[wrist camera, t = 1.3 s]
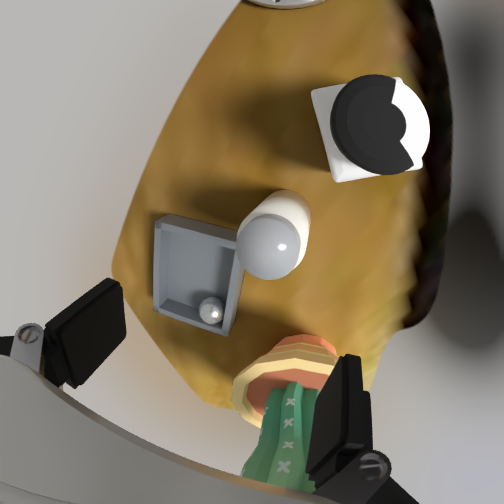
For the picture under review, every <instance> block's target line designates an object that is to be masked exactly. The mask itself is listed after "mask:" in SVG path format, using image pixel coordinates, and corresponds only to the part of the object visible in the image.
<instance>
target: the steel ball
mask: <svg viewBox="0 0 504 504" xmlns="http://www.w3.org/2000/svg"><path fill="white" fill-rule="evenodd" d="M198 311H199V316H200V318H201V319H202V320H203V321H204V322H206V323H208V324H217V323H219V322H221V321H222V320H223V318H224V314H225V305H224V303H223V302H222V301H221V300H220V299H218V298H215V297H208V298H206V299H204V300H203V301H202V302H201V303H200V305H199V310H198Z"/></svg>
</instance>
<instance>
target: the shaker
mask: <svg viewBox="0 0 504 504" xmlns="http://www.w3.org/2000/svg"><path fill="white" fill-rule="evenodd" d="M310 223H311V209H310V206H309V204H308V202H307V201H306V199H305V198H304V197H303V196H302V195H300V194H299V193H297V192H295V191H292V190H279V191H276V192H273V193H272V194H270V195H269V196H268V197H267V198H266V199H265V200H264V201H263V202H262V203H261V204H260V205H258V206H257V207H256V208H255V209H254V210H253V211H252V212H251V213H250V214H249V215H248V216H247V217H246V218H245V219H244V220H243V222H242V223H241V225H240V227H239V229H238V233H237V241H236V254H237V258H238V260H239V262H240V264H241V265H242V267H243V268H244V269H245V270H246V271H247V272H249V273H250V274H251V275H253V276H255V277H257V278H260V279H265V280H274V279H279V278H281V277H284V276H285V275H287V274H288V273H290V272H291V271H292V270H293V269H294V268H295V267H296V266H297V265H298V264H299V263H300V262H301V260H302V259H303V257H304V254H305V251H306V246H307V240H308V235H309V229H310Z"/></svg>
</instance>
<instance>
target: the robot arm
mask: <svg viewBox="0 0 504 504" xmlns="http://www.w3.org/2000/svg"><path fill="white" fill-rule="evenodd" d="M248 1H250V2H253V3H255V4H257V5H261V6H265V7H270V8H278V9H294V8H304V7H308V6H312V5H316V4H318V3H321V2H323V1H325V0H248ZM277 1H279V2H277ZM45 327H46V328H45V329H44V330H43V329H42V327H41V326H40V325H38V324H36V323H28V324H25V325H22V326H21V327H19V329H18V330H17V331H16V333H15V336H4V337H0V504H419V503H418V502H417V501H416V500H415V499H414V498H413V497H412V496H410V495H409V494H408V493H407V492H406V491H405V490H404V489H403V488H402V487H401V486H400V485H399V484H398V483H396V482H395V481H394V480H393V479H392V478H391V477H390V474H391V470H392V468H391V463H390V460H389V458H388V457H387V456H386V455H385V454H383V453H381V452H380V451H377V450H373V438H372V415H371V399H370V393H369V392H368V391H363V379H362V366H361V358H360V356H355V355H351V354H346V355H345V356H344V357H343V356H340V357H339V359H338V361H337V363H336V365H335V366H334V368H333V370H332V372H331V374H330V376H329V377H328V379H327V381H326V383H325V384H324V386H323V388H322V390H321V391H320V393H319V395H318V396H317V399H316V402H315V407H314V415H313V423H312V431H311V438H310V445H309V451H308V458H307V464H306V470H305V472H306V474H309V478H308V481H315V486H314V487H315V488H316V490H315V491H313V492H312V493H307V492H303V491H298V490H294V489H290V488H285V487H281V486H276V485H272V484H267V483H263V482H259V481H255V480H252V479H248V478H244V477H241V476H237V475H234V474H230V473H227V472H224V471H221V470H218V469H215V468H211V467H209V466H206V465H203V464H200V463H197V462H195V461H192V460H189V459H187V458H184V457H182V456H179V455H177V454H175V453H172V452H170V451H168V450H165V449H163V448H161V447H158V446H156V445H154V444H152V443H150V442H148V441H146V440H144V439H141V438H140V437H138V436H136V435H134V434H132V433H130V432H128V431H126V430H124V429H122V428H121V427H119V426H117V425H115V424H114V423H112V422H110V421H108V420H107V419H105V418H103V417H101V416H100V415H98V414H97V413H95V412H93V411H92V410H90V409H88V408H87V407H85V406H84V405H82V404H81V403H79V402H78V401H76V400H75V399H73V398H72V397H71V396H69V395H68V394H66V393H65V392H64V391H63V384H64V383H65V382H66V383H67V384H68V385H70V386H71V387H72V388H74V389H76V388H77V387H78V386H79V385H82V384H84V382H85V381H86V380H87V379H88V378H89V377H90V376H91V375H92V374H93V373H94V371H95V370H96V369H97V368H98V367H99V366H100V365H101V364H102V363H103V362H104V360H105V359H106V358H107V357H108V356H109V355H110V354H111V353H112V352H113V351H114V350H115V349H116V348H117V346H118V345H119V344H120V343H121V342H122V341H123V340H124V339H125V337H126V324H125V313H124V302H123V289H122V287H121V286H120V283H119V282H118V281H115V280H113V279H110V278H106V279H104V280H103V281H102V282H100V283H99V284H98V285H96V286H95V287H93V288H92V289H91V290H89V291H88V292H87V293H85V294H84V295H83V296H81V297H80V298H79V299H77V300H76V301H75V302H73V303H72V304H71V305H70V306H68V307H67V308H65V309H64V310H63V311H62V312H60V313H59V314H58V315H56V316H55V317H54V318H53V319H51V320H50V321H49V322H48V323H47V324H45Z"/></svg>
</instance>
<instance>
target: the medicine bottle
mask: <svg viewBox="0 0 504 504" xmlns="http://www.w3.org/2000/svg"><path fill="white" fill-rule="evenodd" d="M311 97H312V102H313V106H314V110H315V113H316V117H317V120H318V124H319V127H320V131H321V135H322V138H323V142H324V146H325V150H326V154H327V158H328V162H329V166H330V170H331V173H332V176H333V179H334V181H336V182H344V181H350V180H355V179H361V178H366V177H372V176H378V175H393V174H398V173H401V172H404V171H410V170H416V169H420V168H421V167H422V158H421V157H422V156H423V154H424V152H425V150H426V148H427V145H428V141H429V133H430V128H429V120H428V116H427V113H426V110H425V108H424V106H423V104H422V102H421V101H420V99H419V98H418V97H417V95H416V94H415V93H414V92H413V91H412V90H411V89H410V88H409V87H408V86H406V85H405V84H403V82H402V80H401V78H399V77H389V76H384V75H376V74H373V75H365V76H361V77H358V78H355V79H354V80H352V81H350V82H349V83H346V84H340V85H334V86H329V87H324V88H319V89H314V90H312V92H311Z"/></svg>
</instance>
